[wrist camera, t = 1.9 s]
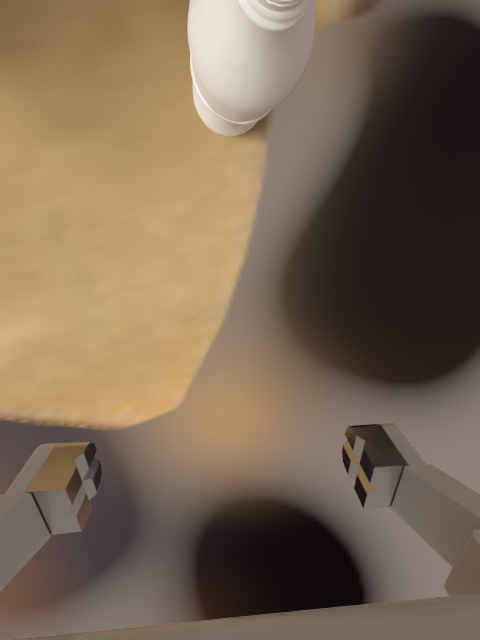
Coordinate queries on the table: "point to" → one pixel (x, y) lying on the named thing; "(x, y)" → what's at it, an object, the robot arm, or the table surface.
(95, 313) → the table surface
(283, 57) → the water bottle
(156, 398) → the table surface
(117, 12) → the table surface
